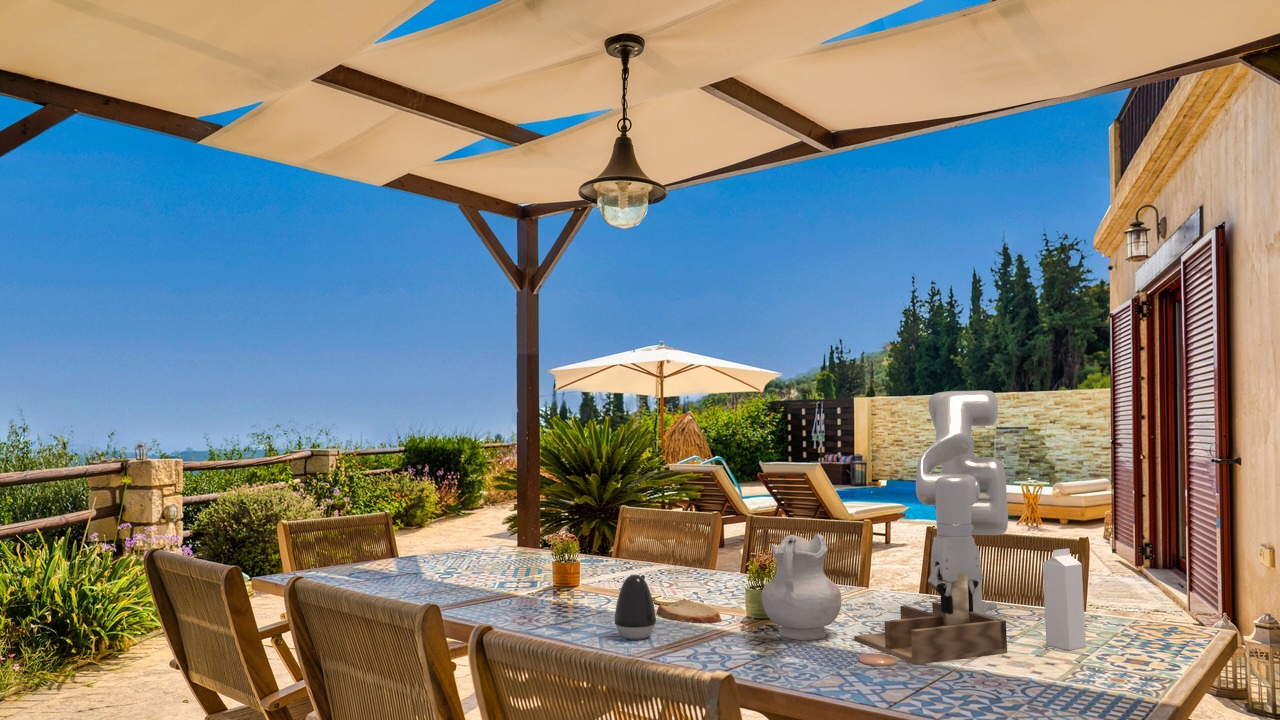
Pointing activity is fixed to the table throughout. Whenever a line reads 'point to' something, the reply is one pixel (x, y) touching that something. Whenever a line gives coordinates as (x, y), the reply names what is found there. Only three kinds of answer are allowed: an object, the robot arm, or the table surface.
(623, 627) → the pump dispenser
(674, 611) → the bread slice
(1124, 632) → the table surface
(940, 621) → the channel board
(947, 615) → the beech peg
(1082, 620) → the milk
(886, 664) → the pad
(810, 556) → the ceramic pitcher
